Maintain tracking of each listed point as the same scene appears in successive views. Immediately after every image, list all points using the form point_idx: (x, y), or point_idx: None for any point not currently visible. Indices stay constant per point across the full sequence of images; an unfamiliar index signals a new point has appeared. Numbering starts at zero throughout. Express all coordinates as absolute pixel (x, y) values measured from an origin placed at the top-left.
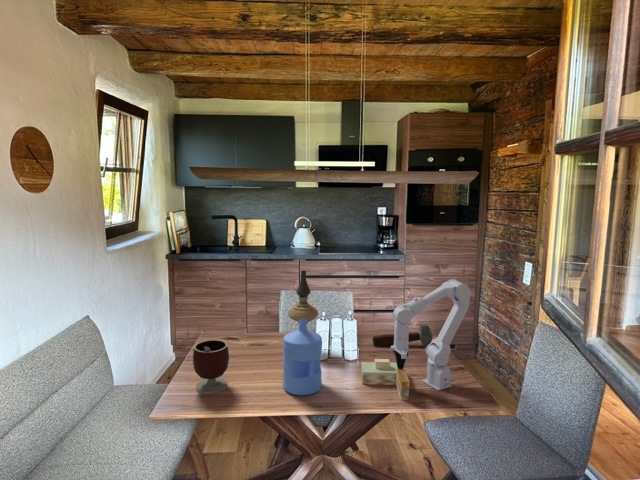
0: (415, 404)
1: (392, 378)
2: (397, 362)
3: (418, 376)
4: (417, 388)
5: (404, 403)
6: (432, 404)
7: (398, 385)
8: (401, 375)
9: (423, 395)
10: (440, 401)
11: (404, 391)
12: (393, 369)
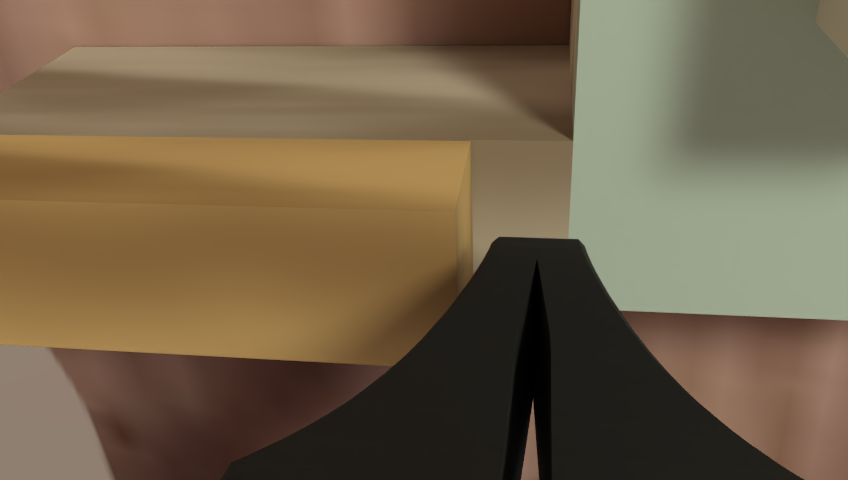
0: None
1: (574, 22)
2: (428, 336)
3: (843, 433)
4: None
5: (4, 86)
6: (99, 393)
7: (242, 94)
8: (105, 248)
9: None
10: (188, 476)
11: None
12: (774, 115)
